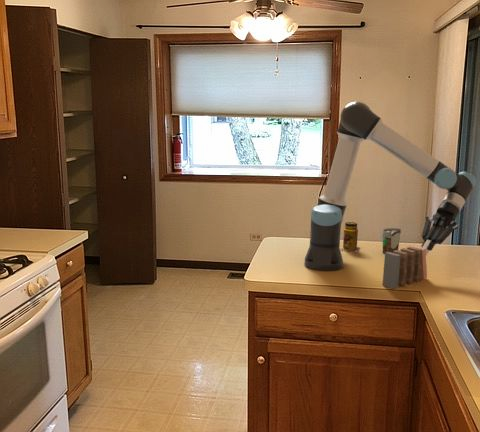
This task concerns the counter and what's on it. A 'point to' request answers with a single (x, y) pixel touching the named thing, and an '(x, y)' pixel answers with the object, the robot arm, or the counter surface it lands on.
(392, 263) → the domino
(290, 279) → the counter surface
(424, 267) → the domino
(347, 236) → the condiment
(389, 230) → the food container
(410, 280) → the domino
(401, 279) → the domino
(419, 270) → the domino
